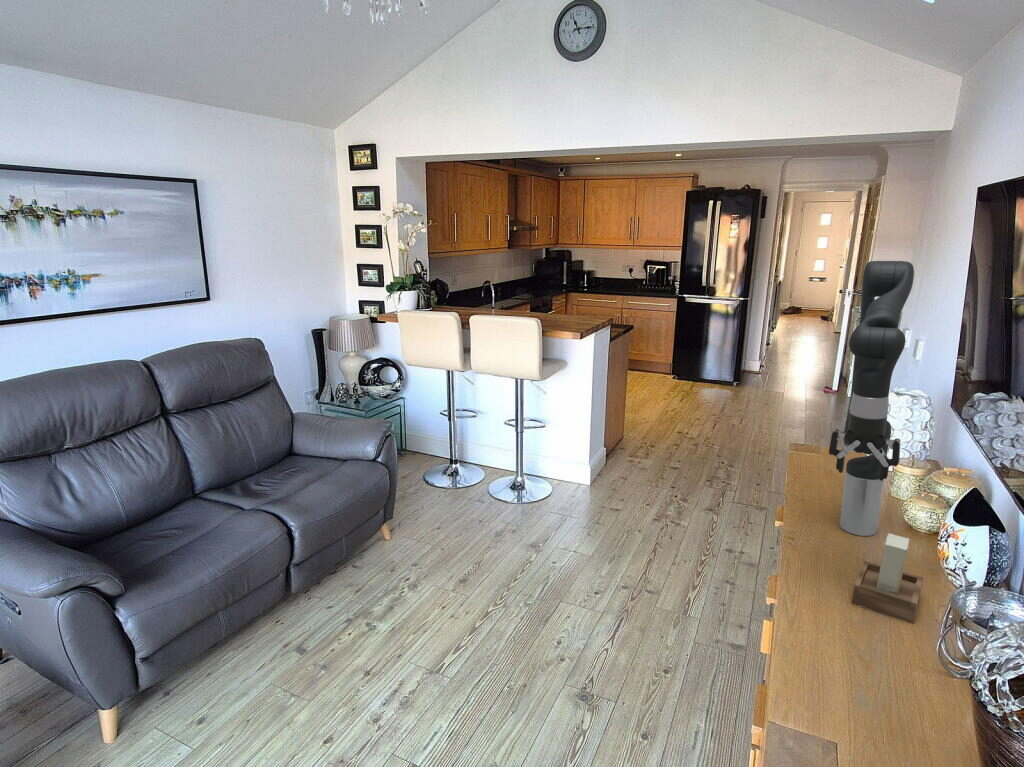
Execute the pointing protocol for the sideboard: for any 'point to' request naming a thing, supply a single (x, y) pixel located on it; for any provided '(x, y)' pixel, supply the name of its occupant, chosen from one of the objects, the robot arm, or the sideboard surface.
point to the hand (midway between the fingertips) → (860, 475)
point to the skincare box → (892, 564)
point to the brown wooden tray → (887, 594)
